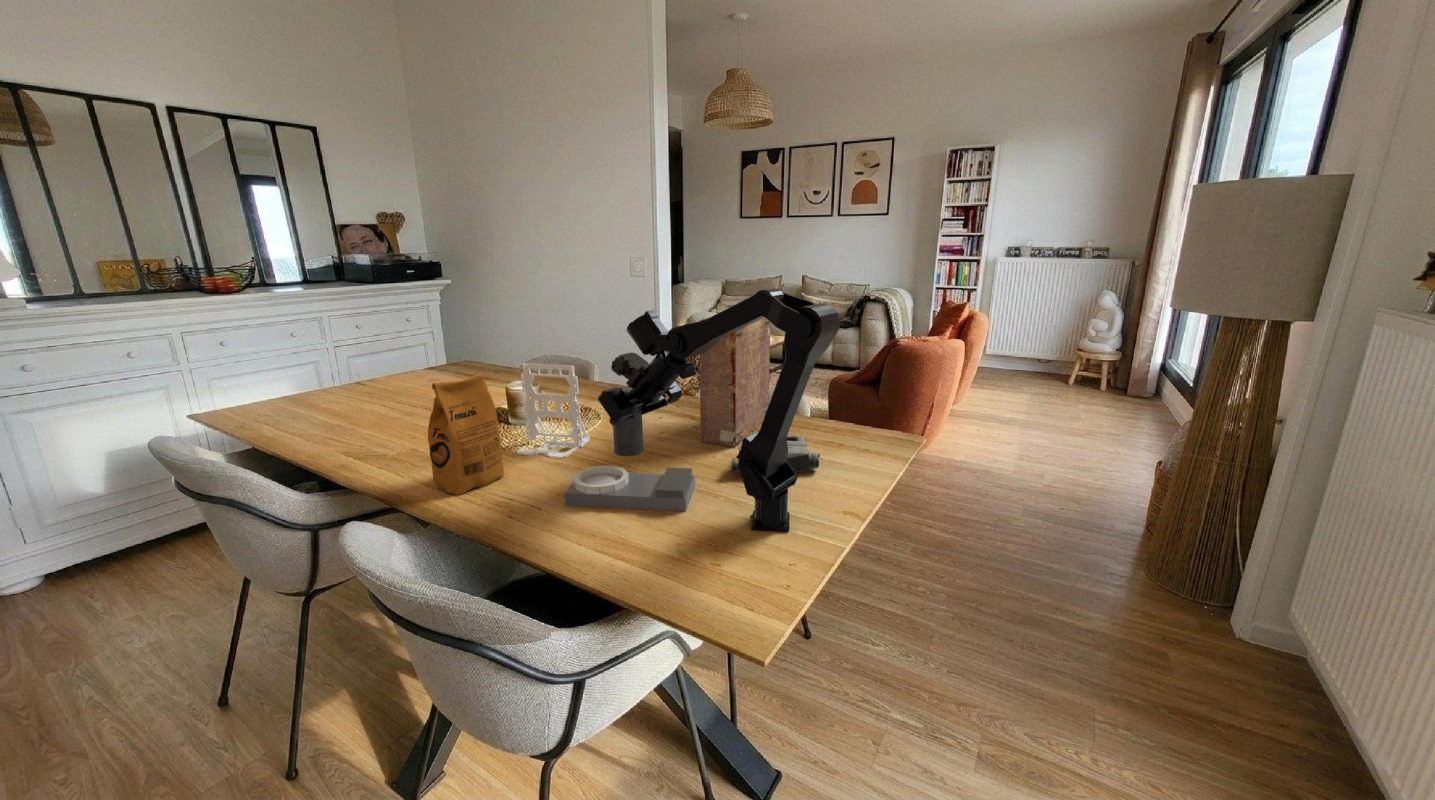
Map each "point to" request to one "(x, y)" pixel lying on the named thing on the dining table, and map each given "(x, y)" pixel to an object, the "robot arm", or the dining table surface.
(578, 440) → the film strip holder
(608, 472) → the grey stepped base
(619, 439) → the dark grey cylinder
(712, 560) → the dining table surface
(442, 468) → the coffee package
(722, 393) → the book
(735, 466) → the camcorder
